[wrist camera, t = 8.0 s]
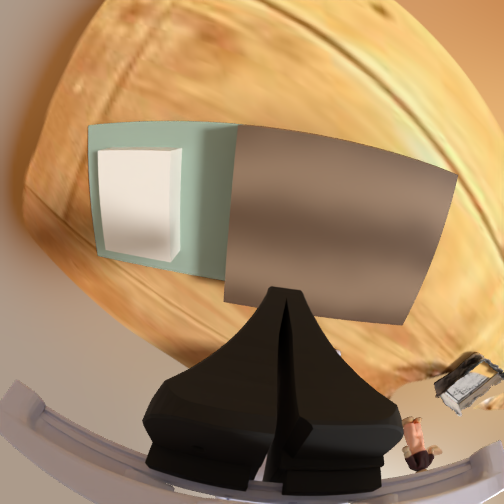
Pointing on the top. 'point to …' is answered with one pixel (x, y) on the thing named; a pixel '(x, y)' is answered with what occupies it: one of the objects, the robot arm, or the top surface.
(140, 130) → the sage mat
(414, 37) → the top surface
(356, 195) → the plate
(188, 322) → the top surface
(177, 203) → the plate
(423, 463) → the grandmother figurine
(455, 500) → the robot arm
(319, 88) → the top surface
